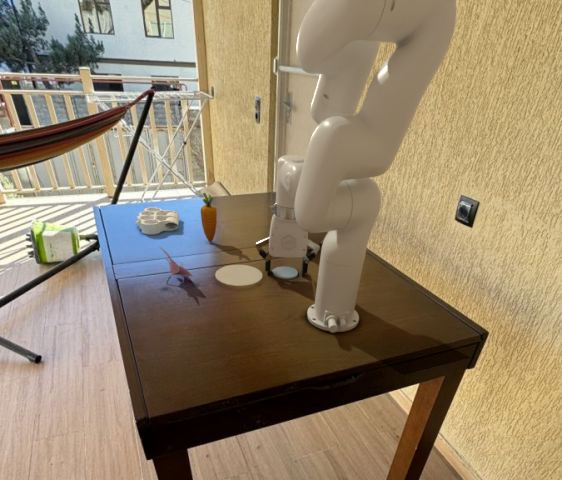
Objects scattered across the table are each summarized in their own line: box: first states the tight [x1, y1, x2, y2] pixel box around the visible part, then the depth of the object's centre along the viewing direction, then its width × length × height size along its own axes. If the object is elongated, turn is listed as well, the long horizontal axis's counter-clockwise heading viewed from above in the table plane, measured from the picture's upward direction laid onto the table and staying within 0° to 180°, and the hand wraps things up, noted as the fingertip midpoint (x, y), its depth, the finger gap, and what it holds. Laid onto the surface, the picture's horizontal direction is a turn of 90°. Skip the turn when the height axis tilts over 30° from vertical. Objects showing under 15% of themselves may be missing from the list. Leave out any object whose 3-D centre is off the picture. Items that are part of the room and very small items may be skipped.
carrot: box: [200, 192, 218, 243], centre depth 123 cm, size 5×5×15 cm
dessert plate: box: [214, 264, 263, 287], centre depth 108 cm, size 13×13×1 cm
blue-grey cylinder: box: [272, 265, 299, 280], centre depth 111 cm, size 7×7×2 cm
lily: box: [159, 246, 194, 285], centre depth 102 cm, size 12×12×10 cm
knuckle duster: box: [133, 206, 180, 236], centre depth 135 cm, size 3×18×15 cm
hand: (285, 274), depth 110 cm, fingers open, 9 cm apart
